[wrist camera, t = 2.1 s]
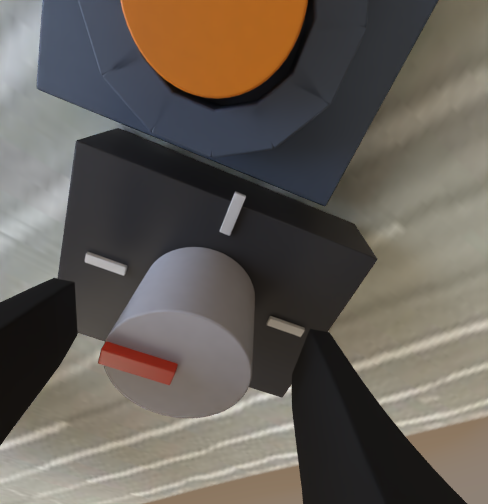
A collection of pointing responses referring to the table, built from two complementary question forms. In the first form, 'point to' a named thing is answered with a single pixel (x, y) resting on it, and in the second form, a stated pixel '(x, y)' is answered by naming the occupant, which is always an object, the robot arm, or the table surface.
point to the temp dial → (185, 336)
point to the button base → (250, 103)
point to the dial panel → (204, 244)
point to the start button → (215, 41)
